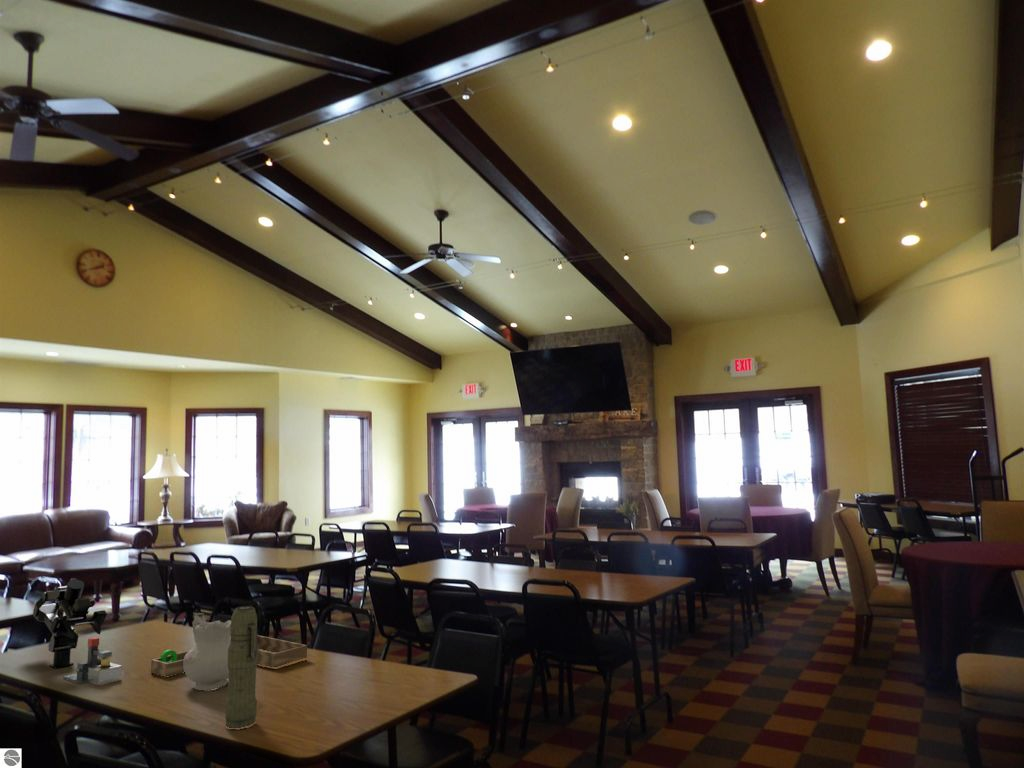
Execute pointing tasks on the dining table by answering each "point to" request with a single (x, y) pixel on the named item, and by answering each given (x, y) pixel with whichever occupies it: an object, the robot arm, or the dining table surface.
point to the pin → (105, 662)
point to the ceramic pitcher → (208, 654)
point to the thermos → (242, 668)
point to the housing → (104, 674)
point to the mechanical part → (166, 653)
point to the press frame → (80, 673)
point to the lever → (95, 652)
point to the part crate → (168, 665)
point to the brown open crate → (279, 651)
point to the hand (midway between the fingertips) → (87, 635)
